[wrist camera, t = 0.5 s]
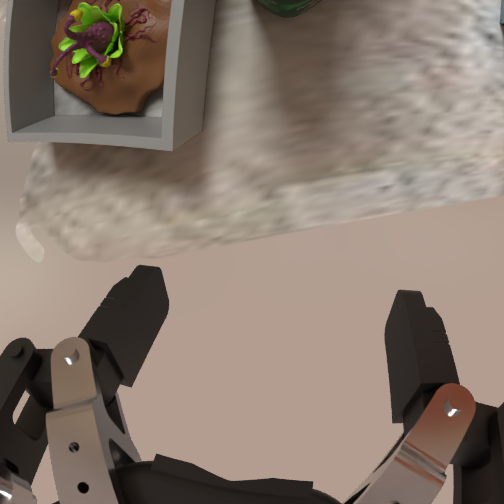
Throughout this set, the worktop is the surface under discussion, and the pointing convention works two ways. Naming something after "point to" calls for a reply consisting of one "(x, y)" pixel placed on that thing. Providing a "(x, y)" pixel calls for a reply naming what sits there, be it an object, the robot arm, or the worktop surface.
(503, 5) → the blue open box
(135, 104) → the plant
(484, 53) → the worktop surface
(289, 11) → the coffee jar
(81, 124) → the grey open bin
